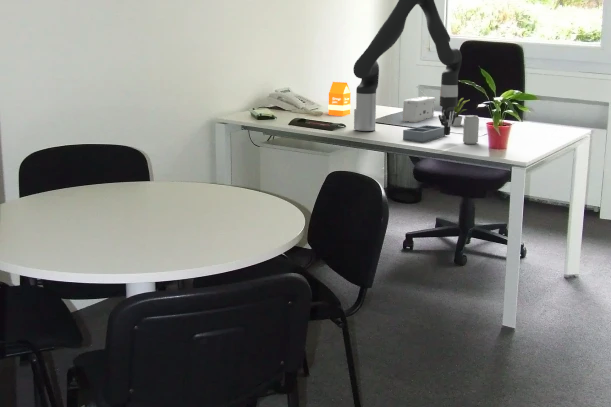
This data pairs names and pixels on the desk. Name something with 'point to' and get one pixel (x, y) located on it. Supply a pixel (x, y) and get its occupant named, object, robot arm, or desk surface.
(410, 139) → the grey compartment tray
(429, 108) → the stereo radio cassette player
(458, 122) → the house plant
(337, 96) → the orange juice
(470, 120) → the beverage can
